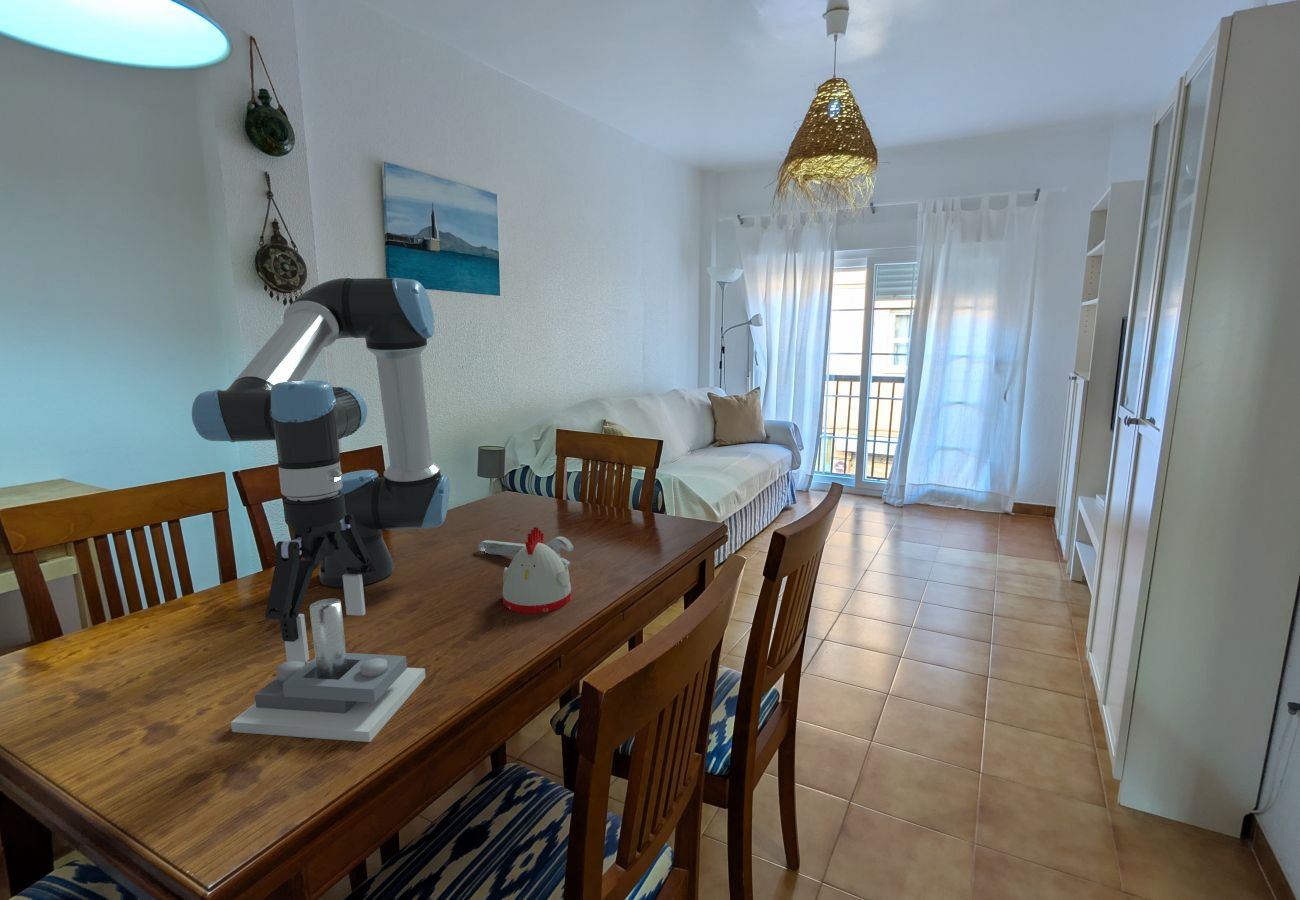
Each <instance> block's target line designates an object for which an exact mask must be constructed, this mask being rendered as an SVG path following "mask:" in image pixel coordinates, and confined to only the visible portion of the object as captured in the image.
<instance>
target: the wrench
mask: <svg viewBox="0 0 1300 900" xmlns="http://www.w3.org/2000/svg"><path fill="white" fill-rule="evenodd" d="M544 544H545V545H547V546H548V547H550V548H551V549H552V550H553V551H554V552H555V553H556V554H557V555H558V556H559V557H560V559H561V560H562V562H563V564H564V565H567V566H568V567H569V566H570V564H571V561H569V560H568V559H566V558H564V557H562V556H561V549H562V550H563V551H566V552H568V553H570V552H572V551H574V545H573V543H572V542H571V541H570V539H568V538H566V537H565V536H557V537H554V538H552V539H550V540H549V541H547V542H545V543H544ZM525 546H526V544H525V543H516V542H507V541H497V540H488V539H485V540H483V541H480V542H479V543H478V544H477V548H478V552H480V551H485V550H486V551H485V553H484V554H486V553H488V554H487V555H499V556H510V557H515V556H516V554H517V553H518V552H519V551H520V550H521V549H522V548H523V547H525Z"/></svg>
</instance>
